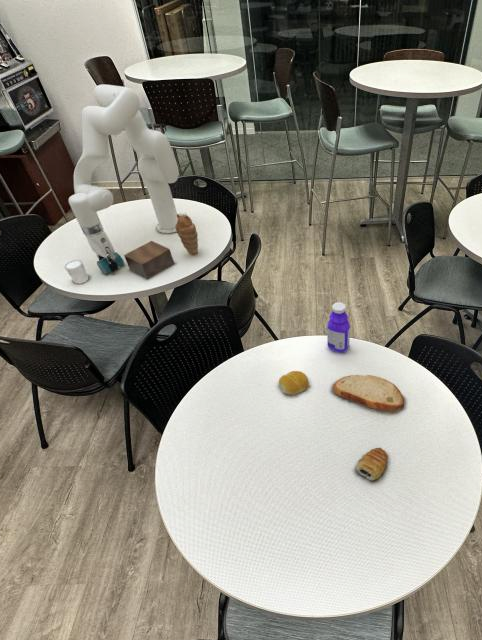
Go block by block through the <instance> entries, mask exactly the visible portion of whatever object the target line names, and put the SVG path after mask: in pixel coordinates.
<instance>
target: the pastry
mask: <svg viewBox="0 0 482 640" xmlns="http://www.w3.org/2000/svg"><path fill="white" fill-rule="evenodd" d="M388 457H389V456H388V454H387V452H386V450H385V449H383V448H382V447H375V448H373V449H372V448H371V449H370V450H369V451H367V452H366V453H365V454H363V455H362V457H361V458H360V459H359V460H358V462H357V464H356V466H355V467H354V468H355V471H357V473H358V474H359V475H361V476H363V477H365V478H366V479H368V480H369V481H375V480H377V479H379V478H380V477H382V475H383V472H384V471H385V469H386V466H387V462H388Z"/></svg>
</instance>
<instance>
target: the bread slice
mask: <svg viewBox="0 0 482 640" xmlns="http://www.w3.org/2000/svg"><path fill="white" fill-rule="evenodd" d="M332 392H333V393H334V394H335V395H338V396H339V397H341V398H343V399H345V400H348V401H351V402H353V403H356V404H358V405H361V406H364V407H367V408H370V409H373V410H381V411H386V412H395V411H398V410H400V409H403V408H404V407H405V399H404V395H403V393H402V392H401V391H400V389H399V387H398V386H397V385H396V384H395V383H393V382H391V381H389V380H388V379H385V378H384V377H383V378H382V377H381V376H376V375H372V374H366V375H360V374H354V375H353V374H352V375H347V376H343V377H341V378H339V379H337V380H336V381H335V382H334V384H333V386H332Z"/></svg>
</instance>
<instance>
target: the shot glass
mask: <svg viewBox="0 0 482 640" xmlns="http://www.w3.org/2000/svg"><path fill="white" fill-rule="evenodd" d="M64 269H65V270H66V272H67V273H68V275H69V276H70V278H71V279H72V281H73V282H74V283H75V284H83V283H85V282H87V281H88V280H89V275H88V272H87V270H86V268H85V265H84V262H83V261H82V260H80V259H76V260H75V259H74V260H71V261H69V262H67V263H66V264H64Z"/></svg>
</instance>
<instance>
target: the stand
mask: <svg viewBox="0 0 482 640" xmlns="http://www.w3.org/2000/svg"><path fill="white" fill-rule="evenodd" d="M123 257H124V259H125V261H126V264H127V266H128V269H129V271H131V272H132V273H135V274H136V275H139V276H140V277H142V278H144V279H146V280H149V279H151V278H153V277H154V276H156V275H158V274H159V273H161V272H163V271H165V270H166V269H168V268H170V267H172V266H173V265H175V262H174V258H173V255H172V252H171V248H168V247H166V246H164V245H162V244H159V243H158V242H156V241H153V240H150V241H148V242H146V243H143V244H142V245H141V246H138V247H137V248H135V249H133V250H131V251H129V252H127V253H125V254H124V255H123Z"/></svg>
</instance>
